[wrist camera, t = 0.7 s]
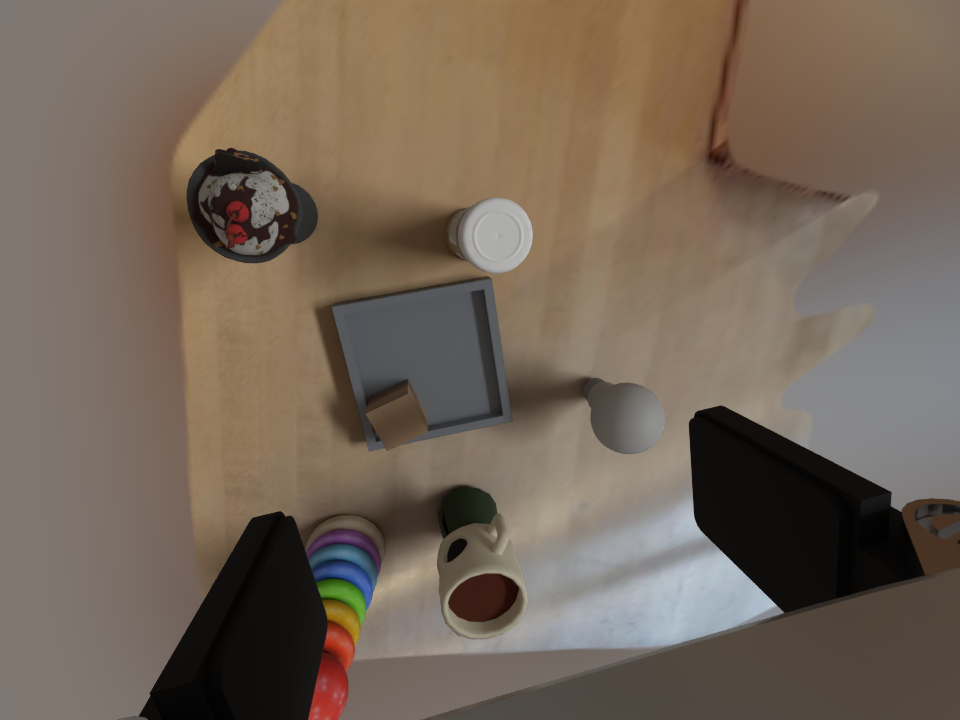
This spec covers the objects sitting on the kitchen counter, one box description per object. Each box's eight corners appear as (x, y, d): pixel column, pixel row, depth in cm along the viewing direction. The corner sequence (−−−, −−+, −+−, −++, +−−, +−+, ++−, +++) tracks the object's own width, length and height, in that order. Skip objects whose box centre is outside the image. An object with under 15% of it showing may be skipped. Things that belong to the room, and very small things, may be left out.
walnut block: (369, 397, 42) (365, 413, 38) (408, 378, 42) (407, 393, 38) (389, 431, 43) (387, 451, 40) (426, 413, 44) (428, 431, 40)
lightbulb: (551, 387, 46) (592, 434, 35) (596, 346, 45) (652, 382, 35) (586, 425, 47) (636, 481, 37) (630, 386, 47) (693, 432, 36)
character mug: (454, 456, 46) (469, 539, 34) (516, 474, 48) (552, 560, 35) (417, 542, 48) (419, 650, 36) (477, 557, 50) (499, 664, 38)
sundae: (299, 270, 39) (235, 295, 25) (228, 218, 37) (114, 212, 23) (344, 209, 38) (305, 198, 24) (274, 152, 36) (185, 104, 22)
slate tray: (335, 303, 40) (331, 307, 38) (487, 276, 41) (491, 278, 40) (370, 441, 44) (369, 451, 42) (508, 413, 46) (512, 421, 44)
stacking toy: (394, 519, 47) (384, 695, 29) (374, 580, 49) (353, 781, 31) (317, 504, 45) (258, 682, 28) (299, 568, 47) (232, 774, 29)
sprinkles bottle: (467, 270, 41) (492, 289, 28) (434, 230, 40) (445, 231, 27) (505, 237, 41) (548, 241, 28) (473, 195, 39) (503, 180, 27)
